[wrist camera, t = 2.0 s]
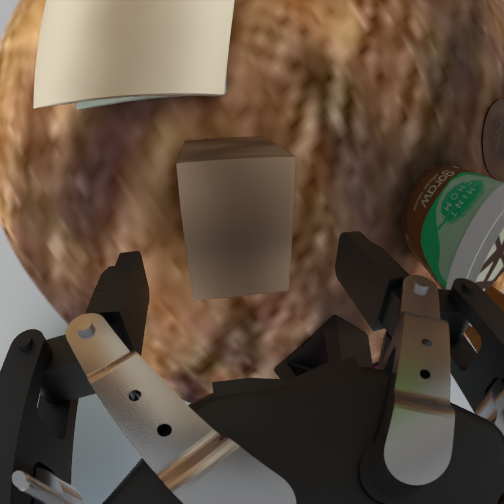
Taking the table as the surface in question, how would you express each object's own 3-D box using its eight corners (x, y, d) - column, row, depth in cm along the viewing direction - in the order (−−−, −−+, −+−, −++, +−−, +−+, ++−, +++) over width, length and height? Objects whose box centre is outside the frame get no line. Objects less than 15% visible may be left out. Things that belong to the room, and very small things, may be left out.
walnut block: (262, 136, 18) (295, 156, 12) (262, 233, 21) (288, 290, 15) (185, 141, 17) (176, 163, 11) (193, 238, 21) (193, 300, 15)
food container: (438, 121, 19) (534, 154, 10) (469, 162, 21) (548, 203, 13) (364, 237, 23) (436, 314, 15) (403, 263, 25) (466, 332, 17)
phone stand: (334, 313, 27) (390, 416, 17) (366, 332, 29) (417, 420, 19) (273, 368, 30) (302, 468, 19) (309, 380, 32) (341, 467, 22)
